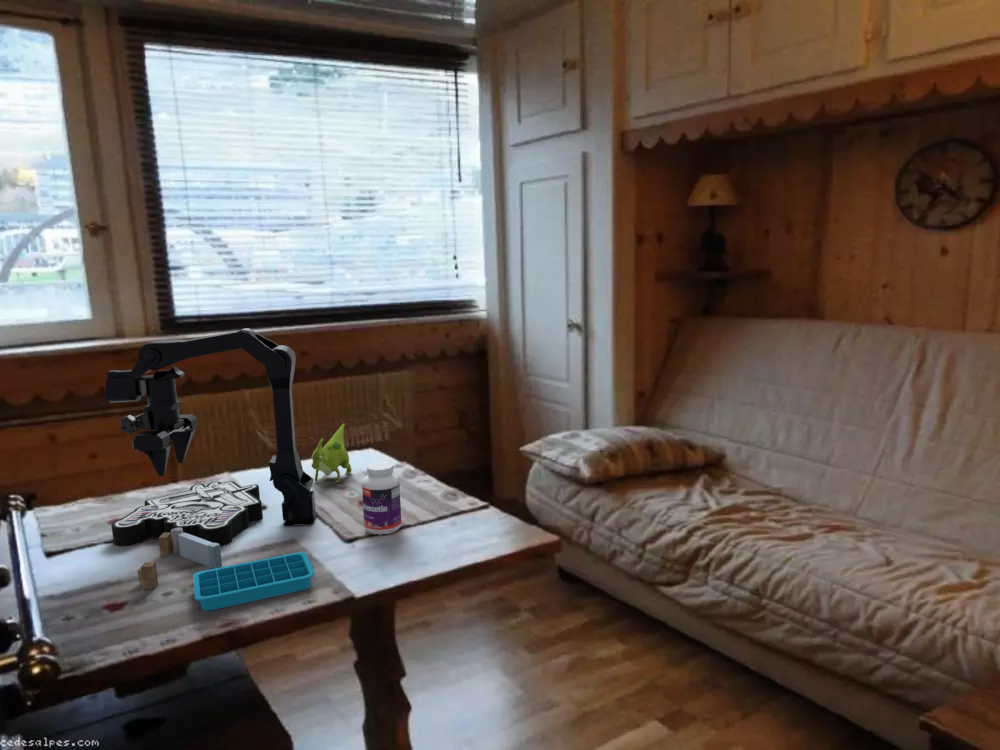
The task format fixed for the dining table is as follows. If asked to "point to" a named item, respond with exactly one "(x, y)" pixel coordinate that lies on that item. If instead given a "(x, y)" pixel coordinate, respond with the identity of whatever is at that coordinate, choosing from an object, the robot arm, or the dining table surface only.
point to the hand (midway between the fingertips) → (171, 469)
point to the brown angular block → (165, 544)
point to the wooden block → (148, 576)
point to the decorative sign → (193, 514)
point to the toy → (331, 456)
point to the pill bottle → (381, 499)
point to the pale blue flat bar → (196, 548)
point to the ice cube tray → (252, 580)
